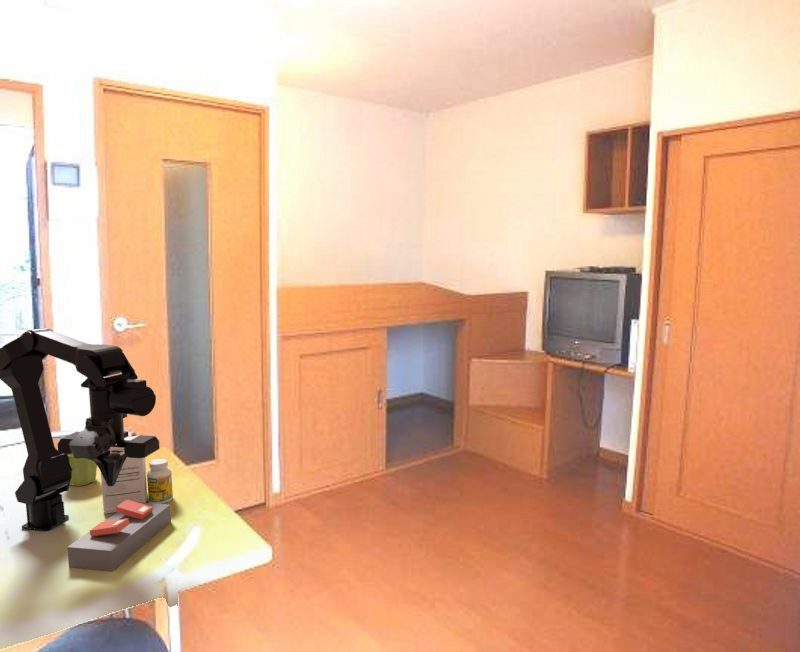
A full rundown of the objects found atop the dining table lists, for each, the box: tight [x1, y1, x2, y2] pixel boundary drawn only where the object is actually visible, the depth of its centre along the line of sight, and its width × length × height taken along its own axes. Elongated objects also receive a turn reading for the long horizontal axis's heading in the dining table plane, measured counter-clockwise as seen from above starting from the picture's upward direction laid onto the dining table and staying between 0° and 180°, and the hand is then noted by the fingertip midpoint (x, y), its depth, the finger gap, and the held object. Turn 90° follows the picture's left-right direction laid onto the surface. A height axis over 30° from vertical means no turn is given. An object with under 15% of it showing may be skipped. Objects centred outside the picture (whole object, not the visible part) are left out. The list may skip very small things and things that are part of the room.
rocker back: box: [115, 499, 153, 520], centre depth 121 cm, size 6×4×1 cm, turn 81°
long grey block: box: [67, 502, 172, 572], centre depth 120 cm, size 9×24×4 cm, turn 171°
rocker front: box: [88, 518, 130, 536], centre depth 113 cm, size 6×4×1 cm, turn 81°
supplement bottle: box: [146, 458, 174, 504], centre depth 138 cm, size 5×5×10 cm
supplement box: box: [100, 435, 148, 515], centre depth 135 cm, size 9×9×15 cm
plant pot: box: [67, 453, 98, 487], centre depth 148 cm, size 9×9×9 cm
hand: (111, 485), depth 117 cm, fingers closed
